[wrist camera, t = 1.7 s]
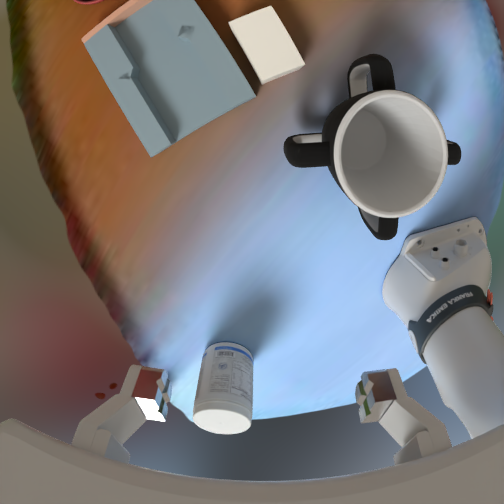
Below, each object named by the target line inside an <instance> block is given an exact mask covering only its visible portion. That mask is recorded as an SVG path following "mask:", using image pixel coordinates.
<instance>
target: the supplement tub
mask: <svg viewBox="0 0 504 504" xmlns="http://www.w3.org/2000/svg"><path fill="white" fill-rule="evenodd" d="M252 404H253V357H252V355H251V353H250V352H249V351H248V350H247V349H246V348H245V347H243V346H241V345H239V344H235V343H230V342H221V343H216V344H213V345H211V346H210V347H208V348H207V349H206V351H205V352H204V354H203V358H202V363H201V369H200V374H199V380H198V385H197V391H196V396H195V402H194V408H193V421H194V422H195V424H196V425H197V426H199V427H200V428H202V429H205V430H207V431H210V432H213V433H218V434H236V433H240V432H243V431H245V430H247V429H248V428H249V427H250V426H251V419H252Z"/></svg>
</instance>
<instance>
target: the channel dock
mask: <svg viewBox="0 0 504 504" xmlns="http://www.w3.org/2000/svg"><path fill="white" fill-rule="evenodd" d="M81 40H82V41H83V43H84V45H85V47H86V49H87V50H88V52H89V54H90V56H91V57H92V59H93V61H94V63H95V65H96V66H97V68H98V70H99V72H100V73H101V75H102V77H103V79H104V80H105V82H106V84H107V85H108V87H109V89H110V91H111V92H112V94H113V96H114V97H115V99H116V101H117V102H118V104H119V106H120V107H121V109H122V111H123V112H124V114H125V116H126V117H127V119H128V121H129V122H130V124H131V126H132V127H133V129H134V131H135V132H136V134H137V136H138V137H139V139H140V140H141V142H142V144H143V145H144V147H145V149H146V150H147V152H148V153H149V155H150V157H153V156H155V155H157V154H159V153H160V152H162V151H163V150H165V149H166V148H168V147H169V146H171V145H173V144H174V143H176V142H177V141H179V140H180V139H182V138H184V137H185V136H187V135H188V134H190V133H192V132H193V131H195V130H197V129H198V128H200V127H202V126H203V125H205V124H207V123H209V122H210V121H212V120H214V119H216V118H217V117H219V116H221V115H223V114H225V113H226V112H228V111H230V110H232V109H234V108H236V107H238V106H239V105H241V104H243V103H245V102H247V101H249V100H251V99H253V98H255V97H256V95H255V94H254V92H253V90H252V88H251V87H250V85H249V83H248V82H247V80H246V78H245V77H244V75H243V73H242V72H241V70H240V68H239V67H238V65H237V64H236V62H235V60H234V59H233V57H232V56H231V54H230V52H229V51H228V49H227V48H226V46H225V45H224V43H223V42H222V40H221V38H220V37H219V35H218V34H217V32H216V31H215V29H214V28H213V26H212V25H211V24H210V22H209V21H208V19H207V18H206V16H205V15H204V13H203V12H202V10H201V9H200V8H199V6H198V5H197V3H196V2H195V1H194V0H129V1H128V2H127V3H125V4H124V5H122V6H121V7H120V8H118V9H117V10H116V11H114V12H113V13H112V14H110V15H109V16H108V17H107V18H105V19H104V20H103V21H102V22H100V23H99V24H98V25H97V26H96V27H94V28H93V29H92V30H91V31H90V32H89V33H87V34H86V35H85V36H84V37H83V38H82V39H81Z"/></svg>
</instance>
